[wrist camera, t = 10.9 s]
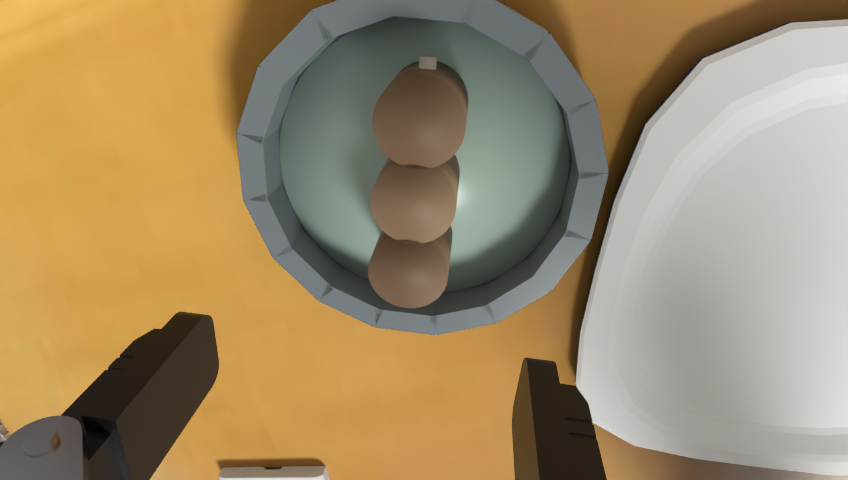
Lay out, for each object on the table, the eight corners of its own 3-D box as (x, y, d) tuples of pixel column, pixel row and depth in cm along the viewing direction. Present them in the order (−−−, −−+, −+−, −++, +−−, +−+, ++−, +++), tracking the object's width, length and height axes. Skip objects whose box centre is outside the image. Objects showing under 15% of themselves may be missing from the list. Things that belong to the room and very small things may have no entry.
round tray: (633, 1, 21) (653, 5, 19) (554, 318, 29) (561, 351, 26) (249, -34, 22) (219, -35, 19) (272, 283, 30) (254, 312, 27)
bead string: (474, 54, 22) (472, 70, 18) (447, 274, 27) (443, 319, 24) (391, 46, 22) (374, 60, 18) (381, 266, 27) (366, 309, 24)
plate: (654, -4, 21) (667, -2, 20) (1317, 43, 20) (1385, 49, 18) (548, 423, 33) (551, 444, 32) (955, 473, 32) (979, 497, 30)
